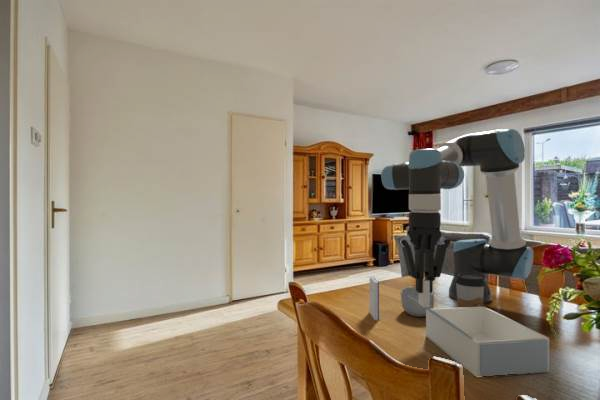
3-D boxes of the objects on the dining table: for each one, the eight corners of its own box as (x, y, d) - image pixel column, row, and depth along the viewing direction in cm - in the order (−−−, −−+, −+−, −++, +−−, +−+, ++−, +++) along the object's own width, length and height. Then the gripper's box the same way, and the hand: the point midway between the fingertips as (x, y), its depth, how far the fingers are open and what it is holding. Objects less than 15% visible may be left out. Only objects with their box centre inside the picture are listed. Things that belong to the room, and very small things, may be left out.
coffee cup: (469, 329, 100) (469, 280, 100) (449, 320, 108) (449, 274, 108) (491, 326, 102) (491, 278, 102) (470, 317, 110) (470, 272, 110)
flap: (408, 294, 93) (407, 295, 93) (448, 321, 73) (447, 322, 73) (427, 308, 94) (427, 309, 94) (473, 338, 74) (472, 339, 74)
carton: (484, 332, 98) (484, 305, 98) (554, 374, 75) (554, 339, 75) (424, 335, 96) (425, 308, 96) (478, 380, 72) (478, 343, 72)
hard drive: (373, 311, 116) (373, 276, 116) (379, 320, 108) (379, 282, 108) (369, 311, 116) (369, 276, 116) (374, 320, 108) (374, 282, 107)
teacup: (436, 320, 108) (436, 296, 108) (402, 318, 110) (402, 294, 110) (428, 306, 121) (429, 284, 121) (398, 304, 124) (398, 283, 124)
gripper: (440, 210, 87) (440, 299, 88) (393, 210, 86) (393, 301, 86) (457, 212, 80) (457, 309, 80) (406, 212, 78) (405, 311, 79)
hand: (423, 305), depth 83 cm, fingers closed
